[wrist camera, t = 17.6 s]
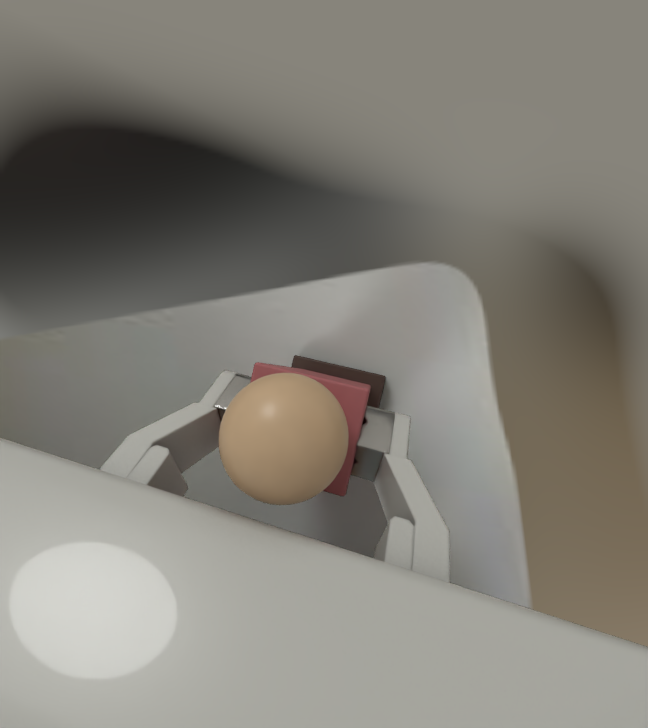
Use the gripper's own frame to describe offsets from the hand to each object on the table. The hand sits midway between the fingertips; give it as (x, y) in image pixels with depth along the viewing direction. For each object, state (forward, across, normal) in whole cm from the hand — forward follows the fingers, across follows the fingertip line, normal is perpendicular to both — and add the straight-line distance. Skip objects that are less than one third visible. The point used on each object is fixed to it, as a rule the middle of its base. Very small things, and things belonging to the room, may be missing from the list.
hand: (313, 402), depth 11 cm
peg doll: (+4, 0, +4) cm, 6 cm away
